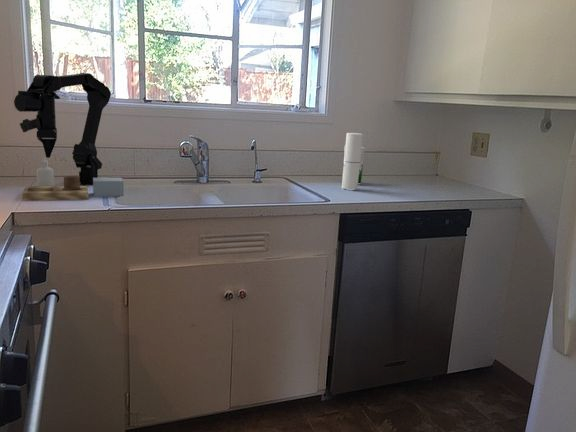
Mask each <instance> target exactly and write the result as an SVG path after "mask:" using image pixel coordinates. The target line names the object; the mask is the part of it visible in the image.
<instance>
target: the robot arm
mask: <svg viewBox="0 0 576 432" xmlns="http://www.w3.org/2000/svg"><path fill="white" fill-rule="evenodd" d="M72 86H74V87H75V86H81V87H82V90H83V91H84V92H85V93H86V94H87V95H86V99H87V103H88V105H89V106H88V111H87V115H86V120H85V122H84V123H85V124H84V128H83V132H82V133H83V134H82V137H81V141H80V142H79V143H78V144H77V143H75V144H74V146H73V151H72V153H71V155H72V160H74V165H76V168H78V169H79V168H80V170H79V171H78V176H80V186H89V185H91V186H93V178H99V174H98V173H99V171H98V170H101V169H102V167H103V163H102V161H100V159H99V158H98V157H97V156H98V150H97V146H96V140H97V136H98V131H99V128H100V124H101V123H100V122H101V118H102V113H103V110H104V108H105V107H106V106H107V105H108V104H109V102H110V99H111V97H112V92H111V90H110V88H109V87H108V86H107V85H105V84H104V83H103V82H102V81H101V80H99V79H97V78H96V77H95V76H94V75H92V74H91V73H89V72H88V73H87V72H80V73H75V74H65V75H49V74H48V75H47V74H36V75H34V77H33V79H32V81H31V83H30V85H29V87H28V88H27V90H18V91H17V94H16V96H15V97H14V101H13V104H14V108H15V109H16V110H17V111H18V112H23V113H24V112H29V113H30V112H33V113H34V112H36V115H35V117H36V118H31V119H28V118H25V119H23V120H22V122H19V125H20V128H21V130H22V133H27V132H28V131H32V130H34V129H36V130H37V131H36V138H37V140H38V141H40V142H41V143H42V146H43V150H44V155H45V157H46V159H48V158H49V159H50V158H51V156H52V153H53V150H54V148H55V145H56V142H57V140H58V128H57V125H56V123H57V121H56V101H55V100H60V98H61V97H60V96H59V95H58V94H57V93H56V92H57V91H60V90H61V89H62V88H63V89H64V88H66V87H72Z"/></svg>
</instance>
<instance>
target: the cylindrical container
mask: <svg viewBox="0 0 576 432" xmlns="http://www.w3.org/2000/svg"><path fill="white" fill-rule="evenodd" d="M363 135H364V134H363V133H360V132H358V133H357V132H346V135H345V136H346V137H345V144H344V146H345V156H343V164H344V167H343V166H342V175H343V178H342V177H341V178H342V179H341V189H342V188H345V189H357V190H358V187H359V186H358V178H359V168H360V158H361V148H362V147H363Z"/></svg>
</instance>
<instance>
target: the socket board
mask: <svg viewBox="0 0 576 432" xmlns="http://www.w3.org/2000/svg"><path fill="white" fill-rule="evenodd" d="M88 189H89V188H88V185H80V190H69V191H64V185H54V186H37V185H35V186H34V185H33V186H32V185H31V186H30V185H29V186H25V187H24V189H23V191H22V193H21V195H22V199H21V200H22V201H23V202H24V201H25V202H26V201H28V202H29V201H32V202H33V201H73V200H74V201H77V200H78V201H79V200H82V201H84V200H89V190H88Z"/></svg>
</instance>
